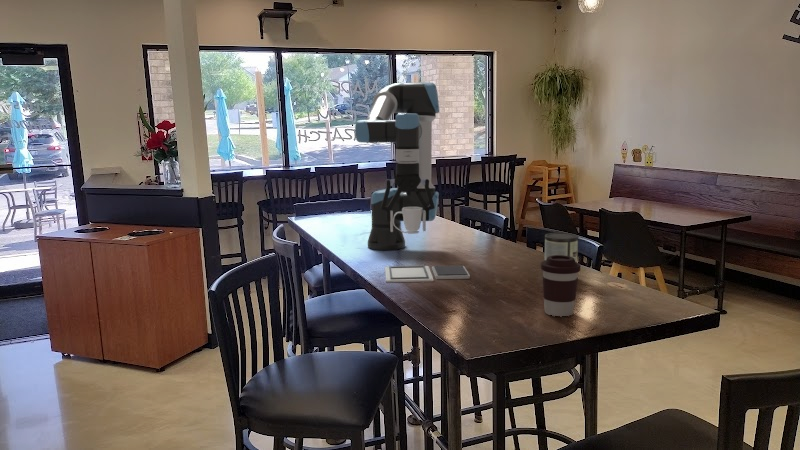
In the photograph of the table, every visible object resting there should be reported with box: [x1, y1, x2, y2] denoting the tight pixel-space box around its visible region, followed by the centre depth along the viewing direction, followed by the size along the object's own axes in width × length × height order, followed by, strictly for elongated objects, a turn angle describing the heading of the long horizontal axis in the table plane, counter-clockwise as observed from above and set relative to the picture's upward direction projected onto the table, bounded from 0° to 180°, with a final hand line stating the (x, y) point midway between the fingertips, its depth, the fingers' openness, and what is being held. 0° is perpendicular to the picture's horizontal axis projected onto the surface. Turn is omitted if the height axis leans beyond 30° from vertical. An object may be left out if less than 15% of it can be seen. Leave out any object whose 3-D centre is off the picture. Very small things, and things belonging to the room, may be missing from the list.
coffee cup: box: [540, 255, 581, 318], centre depth 157 cm, size 10×10×15 cm
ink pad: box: [431, 264, 471, 280], centre depth 199 cm, size 13×11×1 cm
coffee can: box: [543, 232, 579, 263], centre depth 191 cm, size 10×10×14 cm
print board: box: [384, 265, 434, 283], centre depth 199 cm, size 18×15×1 cm
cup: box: [393, 207, 423, 235], centre depth 196 cm, size 7×10×8 cm
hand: (407, 230), depth 196 cm, fingers closed on cup, 10 cm apart
